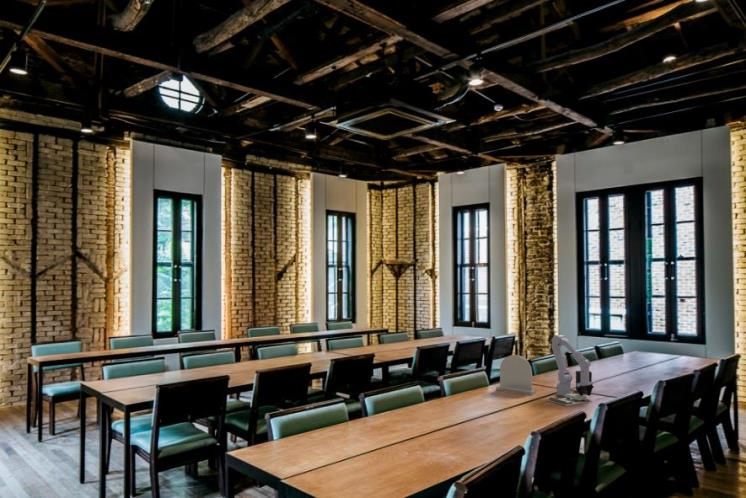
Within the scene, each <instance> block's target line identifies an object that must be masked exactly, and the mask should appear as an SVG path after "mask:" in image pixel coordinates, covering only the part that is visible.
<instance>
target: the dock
mask: <svg viewBox="0 0 746 498" xmlns="http://www.w3.org/2000/svg"><path fill="white" fill-rule="evenodd" d="M547 401H548V402H550V403H551V402H552V403H554V404H559V405H562V406H566V407H569V406H574V405H581V404H588V402H587V401H582V400H578V401H574V399H572V398H570V399H567V398H566V397H559V398H558V397H551V396H550V397H549V398H548V400H547Z"/></svg>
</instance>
